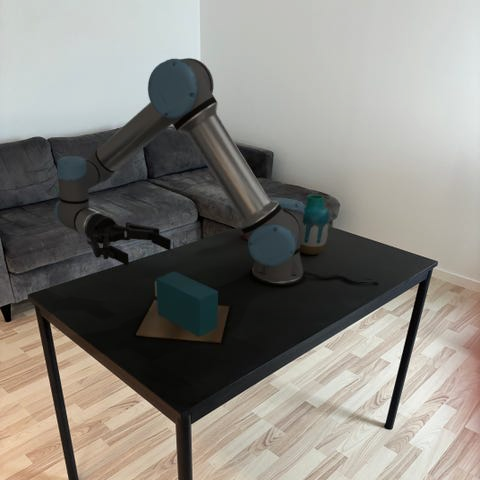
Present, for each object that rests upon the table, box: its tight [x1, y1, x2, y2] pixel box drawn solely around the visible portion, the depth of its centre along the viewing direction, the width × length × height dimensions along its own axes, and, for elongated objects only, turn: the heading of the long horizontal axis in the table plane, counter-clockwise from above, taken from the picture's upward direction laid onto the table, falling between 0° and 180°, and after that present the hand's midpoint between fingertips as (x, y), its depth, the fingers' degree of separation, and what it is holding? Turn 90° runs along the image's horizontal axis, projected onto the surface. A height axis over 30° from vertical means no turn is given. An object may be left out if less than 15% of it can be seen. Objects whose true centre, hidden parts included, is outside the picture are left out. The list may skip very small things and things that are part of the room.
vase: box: [299, 193, 330, 256], centre depth 156 cm, size 11×11×19 cm
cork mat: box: [135, 299, 230, 344], centre depth 119 cm, size 20×17×1 cm
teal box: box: [154, 271, 219, 337], centre depth 116 cm, size 18×6×10 cm, turn 48°
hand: (149, 252), depth 118 cm, fingers open, 13 cm apart
